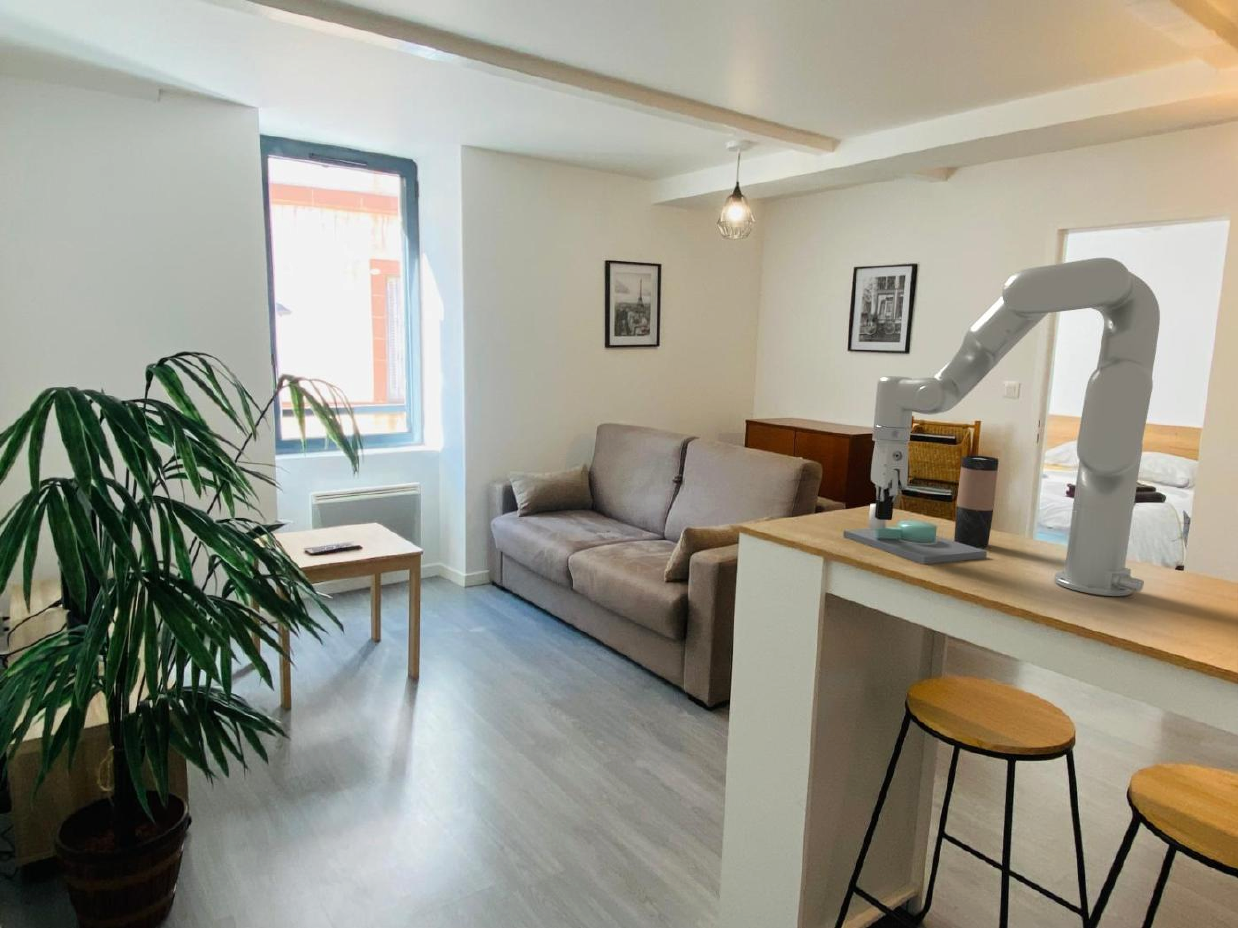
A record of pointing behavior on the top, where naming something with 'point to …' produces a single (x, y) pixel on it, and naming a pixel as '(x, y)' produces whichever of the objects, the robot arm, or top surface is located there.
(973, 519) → the travel mug
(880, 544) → the base plate
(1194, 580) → the top surface
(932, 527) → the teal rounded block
